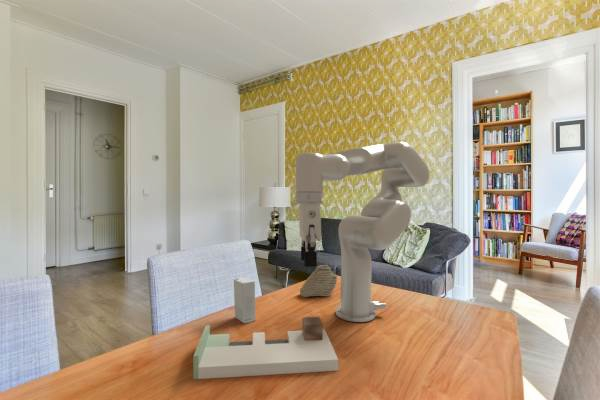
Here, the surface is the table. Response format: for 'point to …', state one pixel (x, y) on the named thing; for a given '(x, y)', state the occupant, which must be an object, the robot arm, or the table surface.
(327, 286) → the fossil tooth
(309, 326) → the walnut block
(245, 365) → the board
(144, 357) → the table surface
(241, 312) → the skincare box
